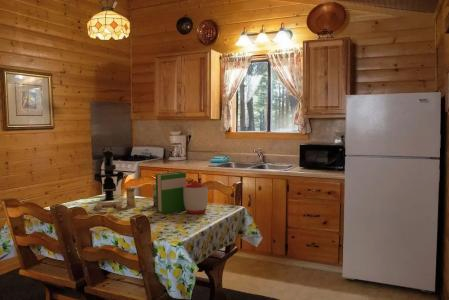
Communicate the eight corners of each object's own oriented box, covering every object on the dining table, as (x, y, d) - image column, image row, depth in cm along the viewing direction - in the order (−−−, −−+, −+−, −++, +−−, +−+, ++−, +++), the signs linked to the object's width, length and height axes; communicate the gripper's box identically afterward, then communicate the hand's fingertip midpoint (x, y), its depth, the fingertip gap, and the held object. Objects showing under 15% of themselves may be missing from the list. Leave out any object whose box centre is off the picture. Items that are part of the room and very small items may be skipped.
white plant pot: (215, 211, 242) (215, 179, 240) (193, 216, 230) (192, 183, 229) (200, 207, 253) (199, 177, 252) (178, 212, 242) (177, 180, 240)
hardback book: (162, 214, 237) (161, 175, 235) (156, 212, 242) (155, 174, 241) (186, 209, 247) (185, 172, 246) (180, 207, 253) (179, 171, 251)
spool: (126, 206, 260) (125, 187, 259) (135, 205, 261) (135, 186, 260) (126, 208, 253) (125, 189, 252) (136, 207, 255) (135, 188, 254)
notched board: (97, 205, 264) (97, 202, 264) (121, 203, 268) (121, 201, 268) (95, 210, 249) (95, 207, 249) (121, 208, 253) (121, 206, 253)
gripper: (93, 161, 255) (94, 181, 247) (122, 159, 261) (124, 179, 252) (94, 170, 264) (95, 190, 255) (122, 168, 270) (124, 188, 261)
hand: (109, 186), depth 256 cm, fingers open, 9 cm apart
